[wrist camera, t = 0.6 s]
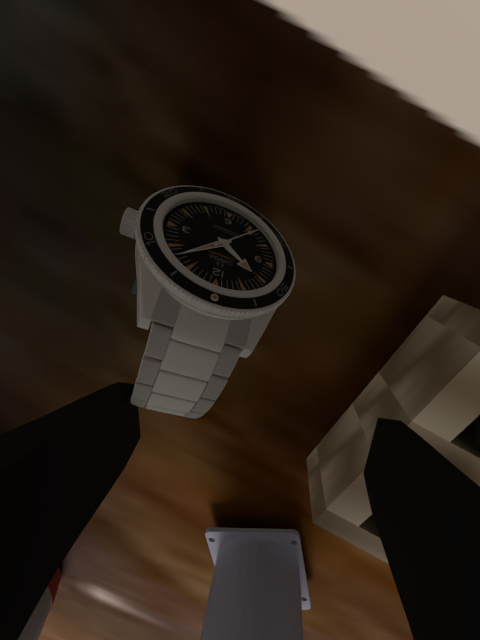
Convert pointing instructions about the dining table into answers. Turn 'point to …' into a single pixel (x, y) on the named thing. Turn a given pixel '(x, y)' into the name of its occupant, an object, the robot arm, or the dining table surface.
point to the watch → (201, 292)
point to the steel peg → (474, 430)
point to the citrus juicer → (41, 610)
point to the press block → (402, 419)
